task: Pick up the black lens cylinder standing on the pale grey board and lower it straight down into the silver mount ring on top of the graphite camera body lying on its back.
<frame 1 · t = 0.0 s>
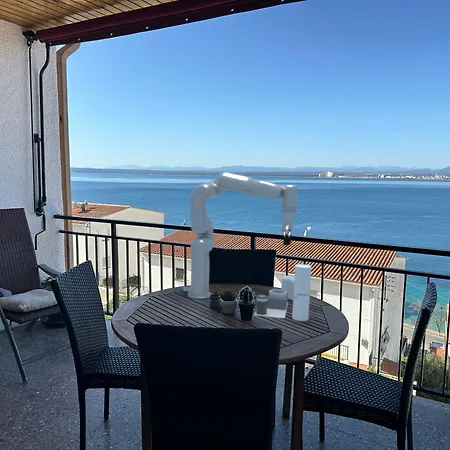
hand: (287, 243, 213), 31 cm above the table, tool pointing down, fingers open, 9 cm apart
camera body: (277, 305, 211), resting on board
board: (271, 309, 205), on the table
lens: (261, 313, 198), point 1 cm above the table, touching board
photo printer: (289, 299, 225), on the table
cylindrical container: (300, 320, 192), on the table
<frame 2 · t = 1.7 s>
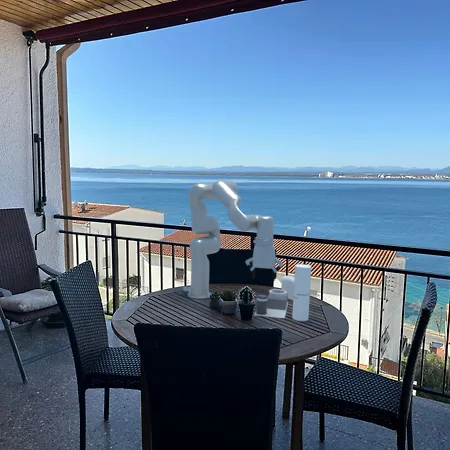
hand: (263, 279, 196), 17 cm above the table, tool pointing down, fingers open, 9 cm apart
nothing on the table moved.
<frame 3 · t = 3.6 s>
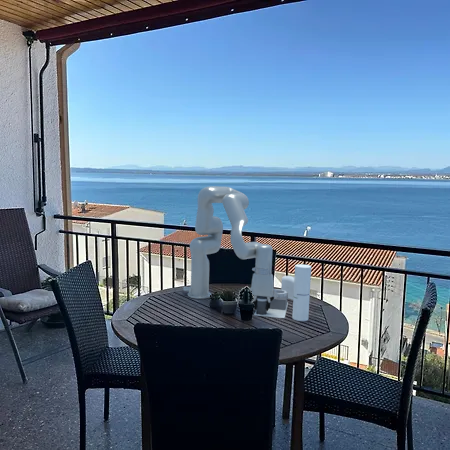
hand: (261, 309, 197), 3 cm above the table, tool pointing down, fingers closed on lens, 5 cm apart
lens: (261, 313, 197), point 1 cm above the table, touching board, gripper
everything else where it was.
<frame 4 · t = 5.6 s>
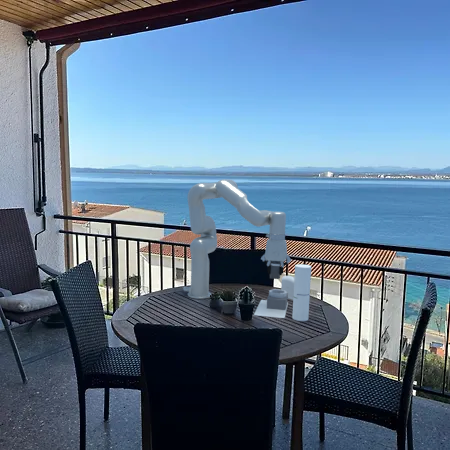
hand: (275, 273, 206), 17 cm above the table, tool pointing down, fingers closed on lens, 5 cm apart
lens: (274, 277, 206), point 15 cm above the table, touching gripper
everything else where it was.
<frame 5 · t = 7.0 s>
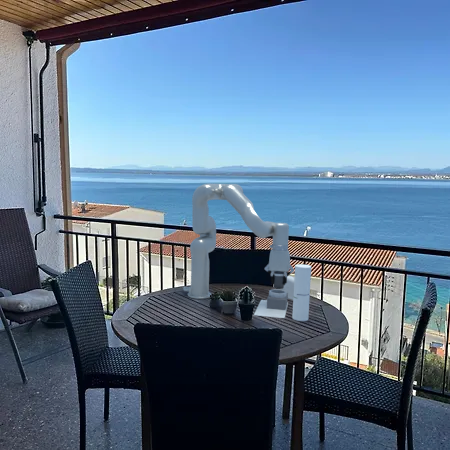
hand: (278, 283, 210), 12 cm above the table, tool pointing down, fingers closed on lens, 5 cm apart
lens: (278, 287, 210), point 10 cm above the table, touching gripper
everything else where it was.
when the fingers open (9 cm above the table, at t = 7.9 s): lens stays where it is, resting on camera body.
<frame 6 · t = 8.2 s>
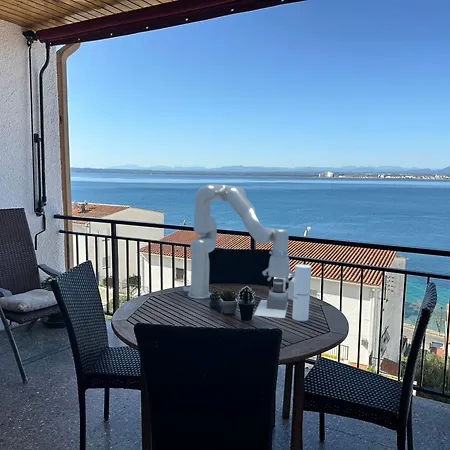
hand: (278, 288, 210), 9 cm above the table, tool pointing down, fingers open, 7 cm apart
lens: (277, 295, 210), point 6 cm above the table, touching camera body
everything else where it was.
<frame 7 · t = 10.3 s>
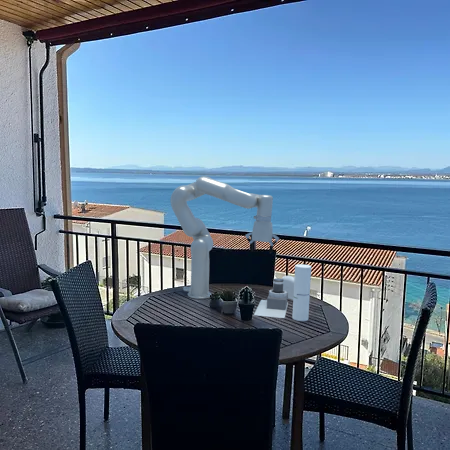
hand: (260, 252, 217), 26 cm above the table, tool pointing down, fingers open, 9 cm apart
nothing on the table moved.
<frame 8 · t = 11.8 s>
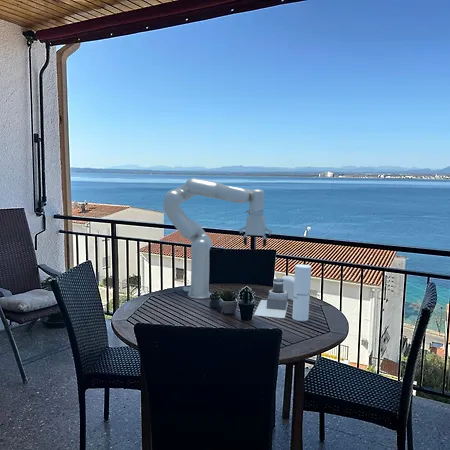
hand: (254, 245, 220), 28 cm above the table, tool pointing down, fingers open, 9 cm apart
nothing on the table moved.
at the end: lens 0.1 cm off-centre on the camera body, point 5.0 cm above the camera body's base; lens tilted 0°; the gripper is holding nothing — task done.
